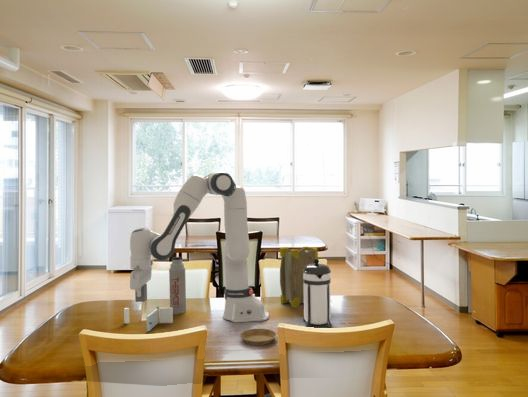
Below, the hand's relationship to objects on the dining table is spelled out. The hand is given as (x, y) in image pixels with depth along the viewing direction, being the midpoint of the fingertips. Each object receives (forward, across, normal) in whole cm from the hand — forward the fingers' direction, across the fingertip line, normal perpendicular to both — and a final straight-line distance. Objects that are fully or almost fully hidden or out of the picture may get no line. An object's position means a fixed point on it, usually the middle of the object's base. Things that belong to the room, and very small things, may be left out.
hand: (141, 294), depth 191 cm
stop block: (+3, 0, 0) cm, 3 cm away
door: (+15, +1, -5) cm, 16 cm away
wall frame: (+15, +8, -1) cm, 17 cm away
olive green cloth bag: (+15, +40, -74) cm, 85 cm away
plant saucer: (+16, -16, -53) cm, 58 cm away
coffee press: (+15, +5, -79) cm, 81 cm away
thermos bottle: (+15, +25, -11) cm, 31 cm away
